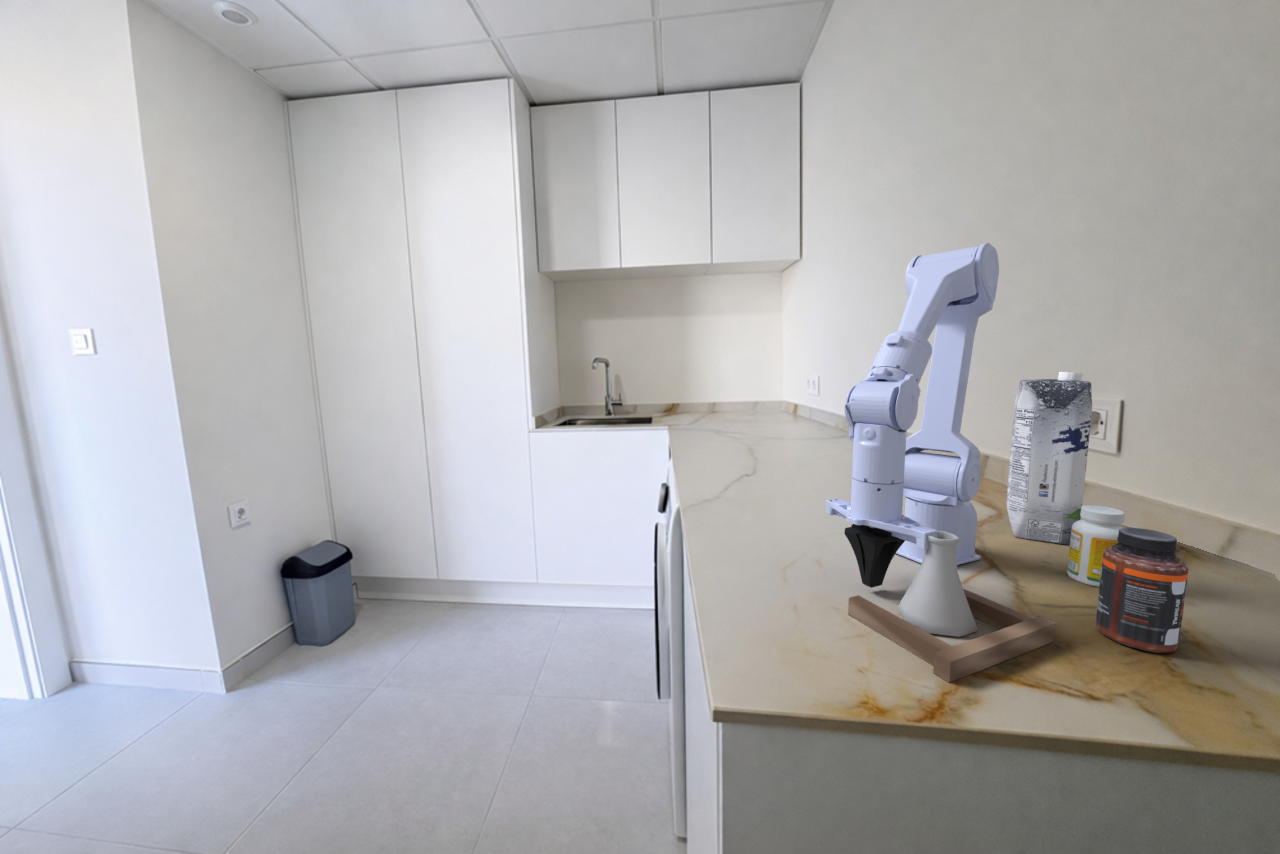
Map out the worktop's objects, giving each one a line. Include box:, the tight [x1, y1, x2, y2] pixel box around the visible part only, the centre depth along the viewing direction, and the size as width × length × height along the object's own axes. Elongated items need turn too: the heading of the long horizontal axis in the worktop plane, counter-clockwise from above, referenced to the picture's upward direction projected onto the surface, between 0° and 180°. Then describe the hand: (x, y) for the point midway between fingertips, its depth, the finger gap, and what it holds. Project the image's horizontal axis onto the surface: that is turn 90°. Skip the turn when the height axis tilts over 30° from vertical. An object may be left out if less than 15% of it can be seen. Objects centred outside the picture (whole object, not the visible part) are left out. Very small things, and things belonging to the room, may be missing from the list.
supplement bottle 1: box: [1066, 504, 1125, 588], centre depth 61 cm, size 5×5×10 cm
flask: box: [897, 531, 978, 638], centre depth 52 cm, size 7×7×10 cm
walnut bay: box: [847, 588, 1057, 683], centre depth 51 cm, size 16×12×2 cm
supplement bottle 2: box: [1095, 527, 1189, 654], centre depth 48 cm, size 6×6×11 cm
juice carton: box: [1006, 371, 1093, 546], centre depth 77 cm, size 9×10×27 cm
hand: (872, 584), depth 59 cm, fingers closed
